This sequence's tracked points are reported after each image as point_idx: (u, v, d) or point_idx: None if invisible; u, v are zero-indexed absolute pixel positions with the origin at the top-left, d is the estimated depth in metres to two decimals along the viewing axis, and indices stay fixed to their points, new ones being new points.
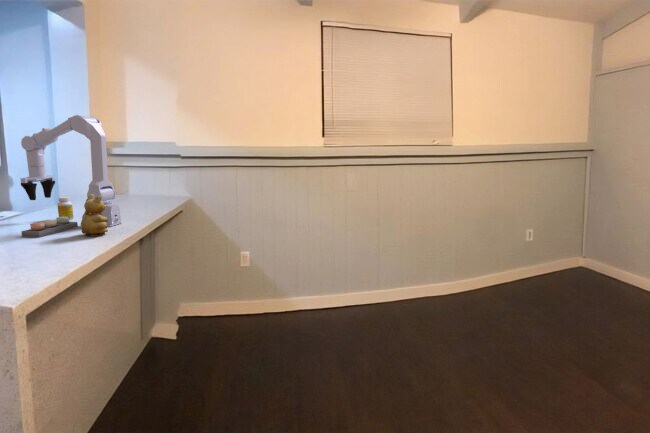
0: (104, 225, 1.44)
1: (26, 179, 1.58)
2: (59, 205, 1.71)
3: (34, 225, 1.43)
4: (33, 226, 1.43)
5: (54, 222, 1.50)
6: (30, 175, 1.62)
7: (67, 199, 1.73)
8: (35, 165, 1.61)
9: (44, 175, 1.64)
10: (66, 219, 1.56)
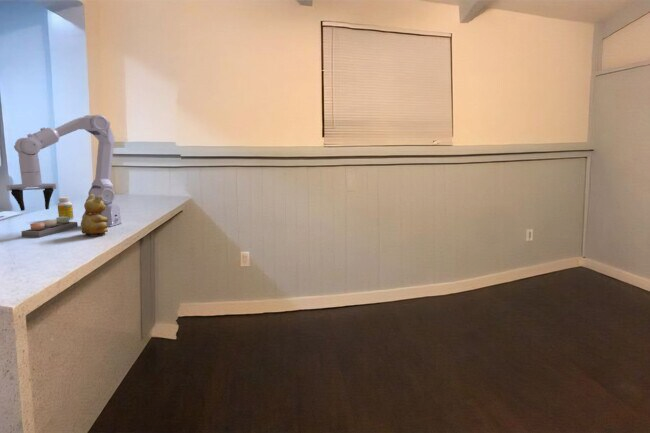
0: (104, 225, 1.44)
1: (8, 186, 1.38)
2: (59, 205, 1.71)
3: (34, 225, 1.43)
4: (33, 226, 1.43)
5: (54, 222, 1.50)
6: None
7: (67, 199, 1.73)
8: (38, 170, 1.41)
9: (31, 183, 1.39)
10: (66, 219, 1.56)
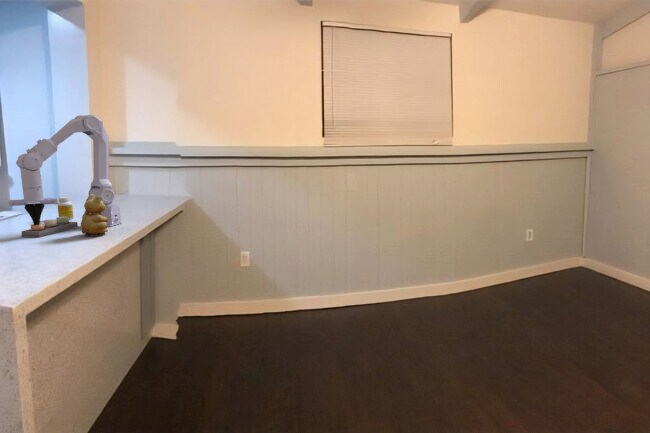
0: (104, 225, 1.44)
1: (10, 202, 1.39)
2: (59, 205, 1.71)
3: (34, 226, 1.43)
4: (33, 227, 1.43)
5: (54, 222, 1.50)
6: None
7: (67, 199, 1.73)
8: (40, 186, 1.42)
9: (33, 198, 1.40)
10: (66, 219, 1.56)
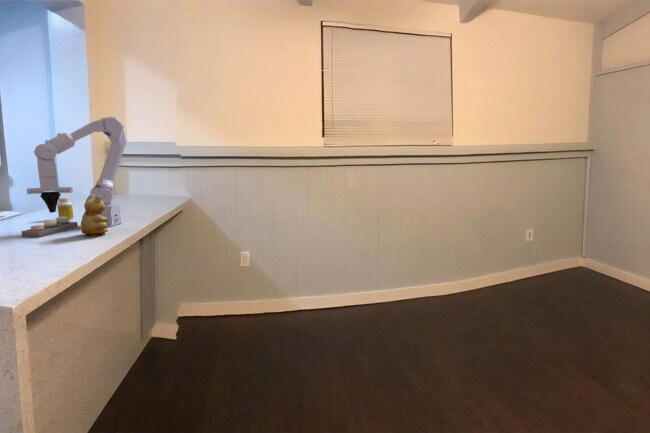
0: (104, 225, 1.44)
1: (28, 190, 1.47)
2: (59, 205, 1.71)
3: (34, 228, 1.43)
4: (34, 229, 1.43)
5: (54, 222, 1.50)
6: None
7: (67, 199, 1.73)
8: (54, 175, 1.48)
9: (47, 187, 1.47)
10: (66, 219, 1.56)
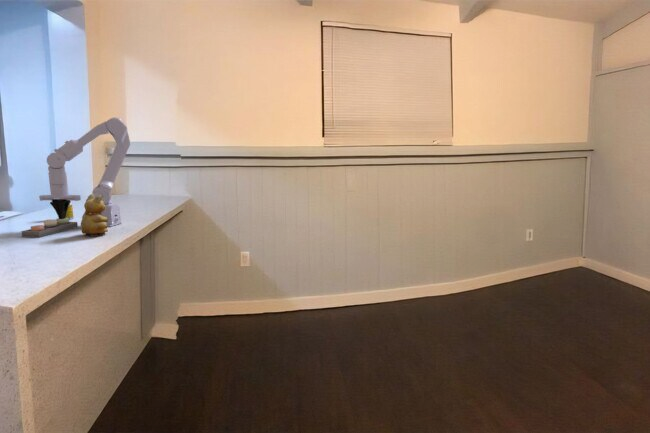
0: (104, 225, 1.44)
1: (41, 197, 1.53)
2: None
3: (34, 228, 1.43)
4: (34, 229, 1.43)
5: (54, 222, 1.50)
6: None
7: None
8: (63, 183, 1.53)
9: (56, 194, 1.52)
10: (66, 220, 1.56)
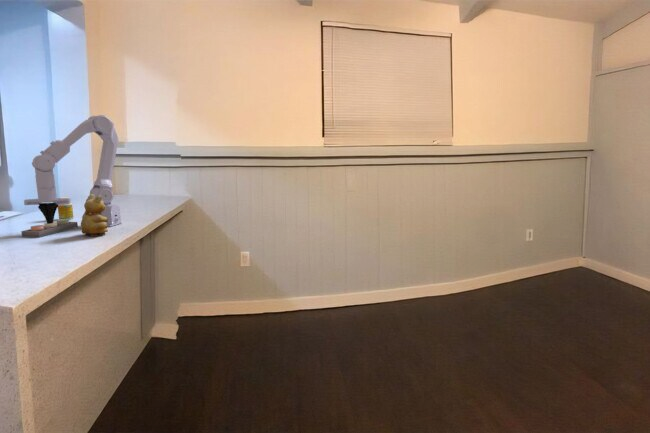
0: (104, 225, 1.44)
1: (26, 201, 1.46)
2: (59, 205, 1.71)
3: (34, 228, 1.43)
4: (34, 229, 1.43)
5: (55, 225, 1.50)
6: None
7: None
8: (52, 186, 1.48)
9: (45, 198, 1.46)
10: (66, 222, 1.56)
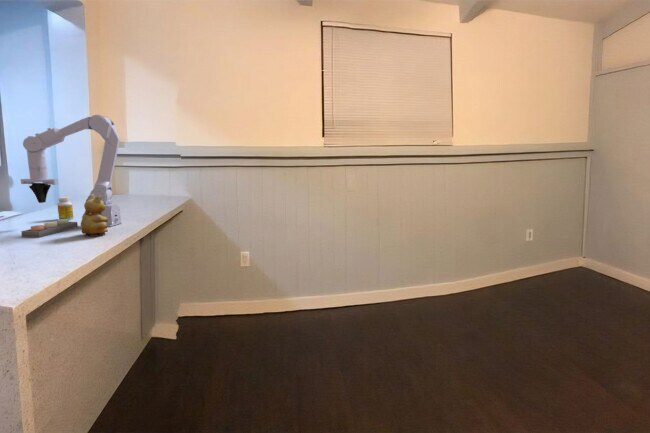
0: (104, 225, 1.44)
1: (22, 180, 1.55)
2: (59, 205, 1.71)
3: (34, 228, 1.43)
4: (34, 229, 1.43)
5: (55, 225, 1.50)
6: None
7: (67, 199, 1.73)
8: (40, 167, 1.53)
9: (34, 178, 1.53)
10: (66, 222, 1.56)
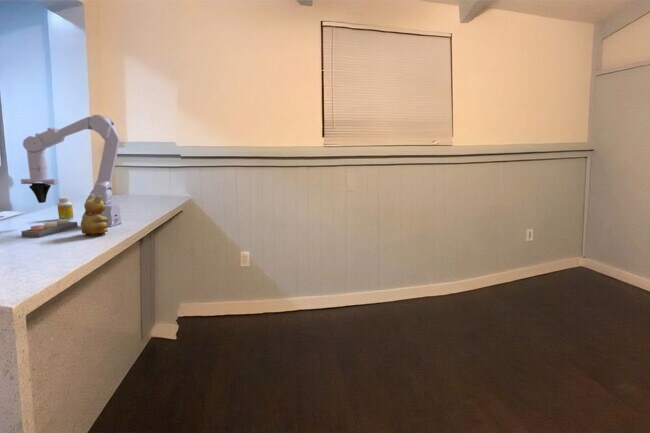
0: (104, 225, 1.44)
1: (22, 180, 1.55)
2: (59, 205, 1.71)
3: (34, 228, 1.43)
4: (34, 229, 1.43)
5: (55, 225, 1.50)
6: None
7: (67, 199, 1.73)
8: (40, 167, 1.53)
9: (34, 178, 1.53)
10: (66, 222, 1.56)
